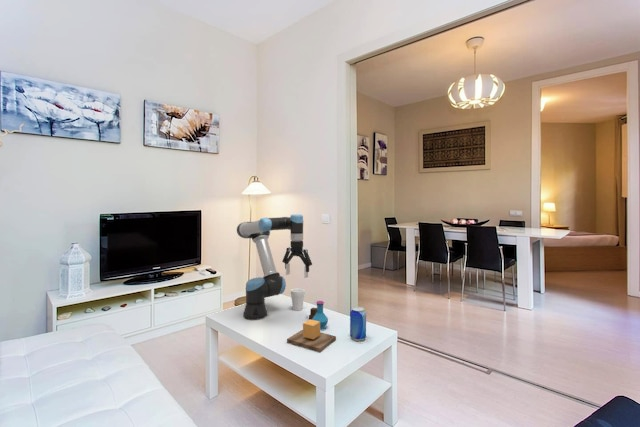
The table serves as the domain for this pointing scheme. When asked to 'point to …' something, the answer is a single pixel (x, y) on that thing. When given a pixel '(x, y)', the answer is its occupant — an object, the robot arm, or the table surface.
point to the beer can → (358, 324)
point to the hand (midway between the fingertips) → (296, 275)
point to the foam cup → (297, 298)
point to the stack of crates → (312, 313)
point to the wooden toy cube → (311, 329)
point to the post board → (312, 341)
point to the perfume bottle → (320, 315)
